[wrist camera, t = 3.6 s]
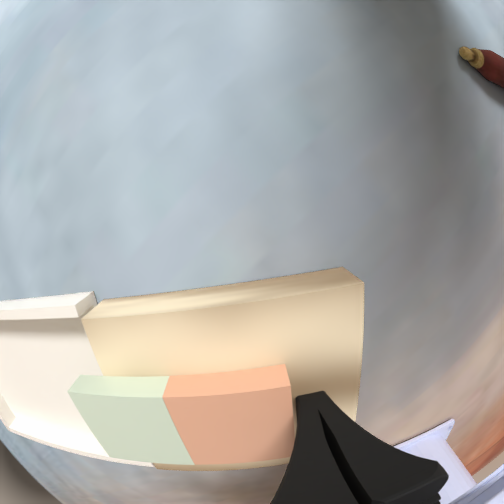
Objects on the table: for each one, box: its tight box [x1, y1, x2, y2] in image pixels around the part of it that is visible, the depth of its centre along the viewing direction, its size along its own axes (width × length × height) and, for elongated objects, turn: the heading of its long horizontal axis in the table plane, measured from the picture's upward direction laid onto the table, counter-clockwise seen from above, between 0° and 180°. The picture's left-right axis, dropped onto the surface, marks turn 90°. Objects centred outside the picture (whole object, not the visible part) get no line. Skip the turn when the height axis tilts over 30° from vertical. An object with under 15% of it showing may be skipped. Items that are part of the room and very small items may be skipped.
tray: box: [0, 291, 154, 467], centre depth 13 cm, size 12×16×2 cm
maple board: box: [81, 267, 364, 471], centre depth 13 cm, size 11×12×2 cm
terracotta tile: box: [162, 364, 295, 465], centre depth 11 cm, size 5×5×2 cm
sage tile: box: [67, 375, 195, 465], centre depth 11 cm, size 5×5×2 cm
